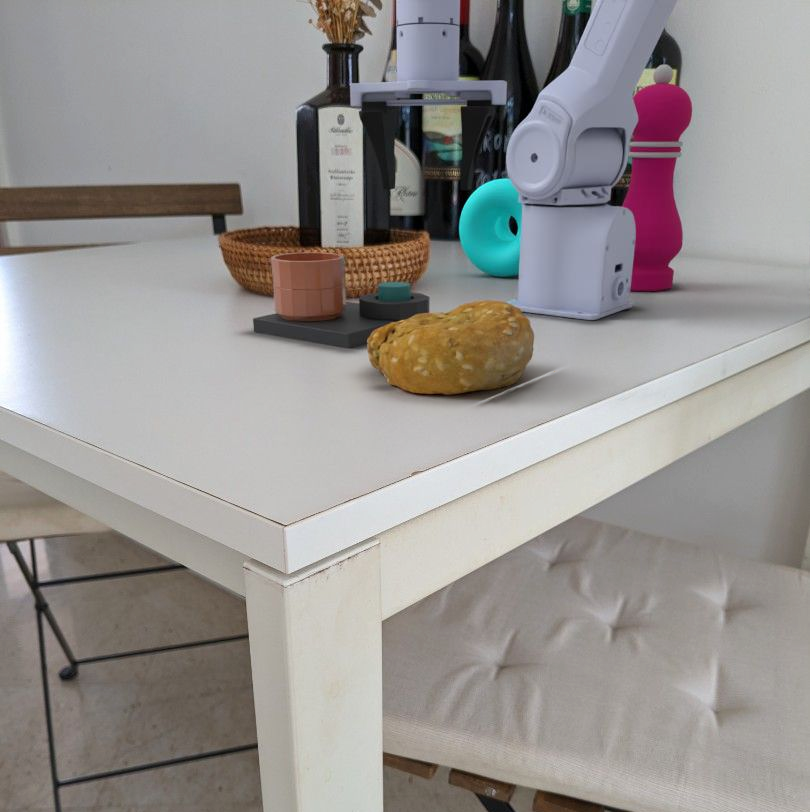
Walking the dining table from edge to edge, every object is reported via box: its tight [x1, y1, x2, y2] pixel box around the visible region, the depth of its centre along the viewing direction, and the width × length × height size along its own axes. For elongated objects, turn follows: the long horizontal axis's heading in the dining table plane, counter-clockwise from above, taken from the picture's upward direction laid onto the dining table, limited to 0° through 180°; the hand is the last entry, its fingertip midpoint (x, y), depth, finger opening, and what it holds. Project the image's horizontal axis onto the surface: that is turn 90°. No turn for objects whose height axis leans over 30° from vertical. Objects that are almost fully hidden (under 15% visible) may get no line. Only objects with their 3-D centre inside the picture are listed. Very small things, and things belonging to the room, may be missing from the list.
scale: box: [252, 291, 430, 350], centre depth 68 cm, size 11×11×2 cm
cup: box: [270, 251, 347, 321], centre depth 67 cm, size 6×6×4 cm
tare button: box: [377, 281, 412, 301], centre depth 68 cm, size 3×3×1 cm
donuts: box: [458, 178, 523, 278], centre depth 95 cm, size 10×10×10 cm
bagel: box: [366, 299, 535, 396], centre depth 54 cm, size 10×11×5 cm
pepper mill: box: [621, 64, 693, 292], centre depth 84 cm, size 7×7×20 cm
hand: (427, 189), depth 83 cm, fingers open, 7 cm apart
